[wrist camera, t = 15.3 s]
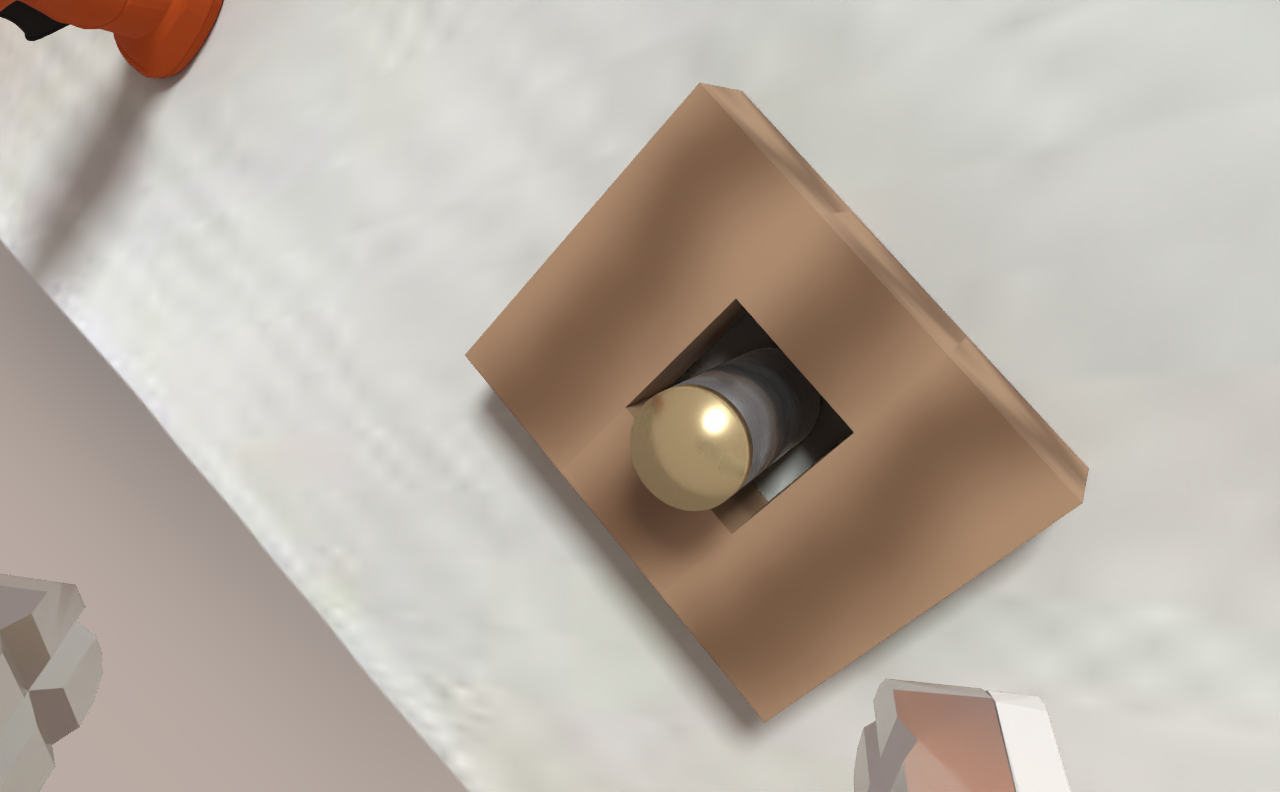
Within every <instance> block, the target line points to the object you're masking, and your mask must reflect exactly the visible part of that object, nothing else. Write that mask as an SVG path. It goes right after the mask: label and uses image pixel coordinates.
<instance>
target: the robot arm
mask: <svg viewBox="0 0 1280 792" xmlns="http://www.w3.org/2000/svg"><path fill="white" fill-rule="evenodd" d="M85 607H86V606H85V604H84V602H83V600H82V597H81V595H80V593H79V591H78V588H77V586H76V585H74V584H67V583H60V582H54V581H47V580H40V579H33V578H26V577H19V576H12V575H5V574H0V792H40V790H41V789H42V787H43V785H44V784H45V782H46V780H47V779H48V777H49V776H50V774H51V772H52V771H53V769H54V767H55V763H54V755H53V748H52V744H54V743H56V742H57V741H59V740H60V739H62V738H63V737H65V736H66V735H68V734H69V733H71V732H73V731H74V730H75V729H77V728H78V727H80V725H81V723H82V722H83V720H84V718H85V716H86V715H87V713H88V711H89V710H90V708H91V706H92V704H93V703H94V700H95V697H96V693H97V690H98V687H99V683H100V680H101V676H102V651H101V648H100V645H99V642H98V639H97V636H96V635H94V634H93V633H92V632H91V631H90V630H88V629H87V628H86V627H85V626H83V625H82V624H81V623H80V622H79V621H77V619H78V618H79V616H80V615H81V613H82V611H83V610H84V609H85ZM874 709H875V717H876V721H875V722H873V723H871V724H870V725H868V726H866V727H864V729H863V732H862V735H861V738H860V741H859V745H858V748H857V754H856V762H855V770H854V792H1071V789H1070V785H1069V782H1068V779H1067V775H1066V772H1065V768H1064V765H1063V762H1062V758H1061V755H1060V752H1059V748H1058V745H1057V742H1056V738H1055V735H1054V731H1053V728H1052V725H1051V721H1050V718H1049V715H1048V711H1047V708H1046V706H1045V705H1044V703H1043V702H1042V701H1041V699H1040V698H1039V697H1037V696H1031V695H1022V694H1013V693H1004V692H995V691H984V690H983V689H980V688H971V687H961V686H951V685H942V684H932V683H923V682H913V681H903V680H894V679H885V680H884V681H883V682H882V683H881V684H880V685H879V688H878V690H877V693H876V696H875V698H874Z"/></svg>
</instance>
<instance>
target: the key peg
mask: <svg viewBox="0 0 1280 792" xmlns="http://www.w3.org/2000/svg"><path fill="white" fill-rule="evenodd" d="M819 412H820V393H819V392H818V391H817V390H816V389H815V388H814V386H813V385H812V384H811V383H810V382H809V381H808V380H807V378H806V377H805V376H804V375H803V374H802V373H801V372H800V370H799V369H798V368H797V367H796V366H795V365H794V364H793V362H792V361H791V360H790V359H789V358H788V357H787V356H786V355H785V353H784V352H783V351H782V350H781V349H777V348H758V349H754V350H751V351H749V352H746V353H744V354H742V355H740V356H738V357H736V358H733V359H731V360H729V361H727V362H725V363H723V364H720V365H718V366H716V367H714V368H712V369H710V370H708V371H705V372H703V373H701V374H699V375H697V376H695V377H692V378H690V379H688V380H686V381H684V382H682V383H679V384H677V385H675V386H673V387H671V388H669V389H667V390H664V391H662V392H660V393H658V394H656V395H655V396H653V397H651V398H650V399H649V400H648V401H647V402H646V403H645V404H644V405H643V406H642V407H641V409H640V410H639V412H638V413H637V415H636V417H635V419H634V422H633V425H632V428H631V433H630V452H631V458H632V461H633V464H634V467H635V470H636V472H637V474H638V476H639V477H640V479H641V481H642V482H643V484H644V485H645V486H646V488H647V489H648V490H649V491H650V492H651V493H652V494H653V495H654V496H656V497H657V498H658V499H660V500H661V501H663V502H664V503H666V504H668V505H670V506H672V507H675V508H677V509H681V510H686V511H703V510H708V509H711V508H714V507H716V506H718V505H720V504H722V503H723V502H725V501H726V500H727V499H729V498H730V497H731V496H732V495H734V494H735V493H736V492H737V491H739V490H740V489H741V488H743V487H744V486H745V485H746V484H748V483H749V482H750V481H751V480H753V479H754V478H755V477H756V476H758V475H759V474H760V473H761V472H763V471H764V470H765V469H766V468H768V467H769V466H770V465H772V464H773V463H774V462H775V461H777V460H778V459H779V458H780V457H782V456H783V455H784V454H785V453H787V452H788V451H789V450H790V449H792V448H793V447H794V446H795V445H797V444H798V443H799V442H801V441H802V440H803V439H804V438H805V437H806V436H807V435H808V434H809V433H810V432H811V430H812V429H813V427H814V426H815V424H816V422H817V419H818V416H819Z"/></svg>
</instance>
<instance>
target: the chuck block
mask: <svg viewBox="0 0 1280 792" xmlns="http://www.w3.org/2000/svg"><path fill="white" fill-rule="evenodd" d="M747 312H749V314H750V315H751V316H752V317H753V318H754V319H755V320H756V322H757V323H758V324H759V325H760V326H761V327H762V328H763V330H764V331H765V332H766V333H767V334H768V335H769V336H770V337H771V339H772V340H773V341H774V342H775V343H776V344H777V345H778V347H779V348H780V349H781V350H782V351H783V352H784V353H785V355H786V356H787V357H788V358H789V359H790V360H791V361H792V362H793V364H794V365H795V366H796V367H797V368H798V369H799V370H800V372H801V373H802V374H803V375H804V376H805V377H806V378H807V380H808V381H809V382H810V383H811V384H812V385H813V386H814V388H815V389H816V390H817V391H818V392H819V393H820V394H821V395H822V397H823V398H824V399H825V400H826V401H827V402H828V403H829V405H830V406H831V407H832V408H833V409H834V410H835V411H836V413H837V414H838V415H839V416H840V417H841V418H842V419H843V420H844V422H845V423H846V424H847V425H848V426H849V427H850V428H851V430H852V431H853V432H852V433H851V434H849V435H848V436H847V437H846V438H845V439H843V440H842V441H841V442H840V443H839V444H837V445H836V446H835V447H834V448H833V449H831V450H830V451H829V452H828V453H827V454H825V455H824V456H823V457H822V458H821V459H819V460H818V461H817V462H816V463H815V464H813V465H812V466H811V467H810V468H809V469H807V470H806V471H805V472H804V473H803V474H801V475H800V476H799V477H798V478H797V479H795V480H794V481H793V482H792V483H791V484H789V485H788V486H787V487H786V488H785V489H783V490H782V491H781V492H780V493H779V494H777V495H776V496H775V497H774V498H773V499H771V500H770V501H769V502H768V501H767V500H766V499H765V498H764V497H763V495H762V494H761V493H760V492H759V491H758V490H757V488H756V487H755V486H754V485H753V484H752V482H751V481H750V482H749V483H748V484H746V485H745V486H744V487H743V488H741V489H740V490H739V491H737V492H736V493H735V494H734V495H732V496H731V497H730V498H729V499H727V500H726V501H725V502H723V503H722V504H720V505H718V506H716V507H714V508H711V509H708V510H703V511H686V510H681V509H677V508H675V507H672V506H670V505H668V504H666V503H664V502H663V501H661V500H660V499H658V498H657V497H656V496H654V495H653V494H652V493H651V492H650V491H649V490H648V489H647V488H646V486H645V485H644V484H643V482H642V481H641V479H640V477H639V476H638V474H637V472H636V470H635V467H634V464H633V461H632V458H631V452H630V433H631V428H632V425H633V422H634V419H635V417H636V415H637V413H638V412H639V410H640V409H641V407H642V406H643V405H644V404H645V403H646V402H647V401H648V400H649V399H650V398H651V397H653V396H655V395H656V394H658V393H660V392H662V391H664V390H667V389H669V388H671V386H672V385H673V384H674V383H675V382H676V381H677V380H678V379H679V378H680V377H681V376H682V375H683V374H684V373H685V372H686V371H687V370H688V369H689V368H690V367H691V366H692V365H693V364H694V363H695V362H696V361H697V360H698V359H699V358H700V357H702V356H703V355H704V354H705V353H706V352H707V351H708V350H709V349H710V348H711V347H712V346H713V345H714V344H715V343H716V342H717V341H718V340H719V339H720V338H721V337H722V336H723V335H724V334H725V333H726V332H727V331H728V330H729V329H730V328H731V327H732V326H733V325H734V324H736V323H737V322H738V321H739V320H740V319H741V318H742V317H743V316H744V315H745V314H746V313H747ZM465 356H466V357H467V358H468V360H469V361H470V362H471V363H472V364H473V366H474V367H475V368H476V369H477V371H478V372H479V373H480V374H481V375H482V377H483V378H484V379H485V380H486V382H487V383H488V384H489V385H490V386H491V388H492V389H493V390H494V391H495V393H496V394H497V395H498V396H499V397H500V399H501V400H502V401H503V402H504V404H505V405H506V406H507V407H508V409H509V410H510V411H511V412H512V413H513V415H514V416H515V417H516V418H517V420H518V421H519V422H520V423H521V424H522V426H523V427H524V428H525V429H526V431H527V432H528V433H529V434H530V435H531V437H532V438H533V439H534V440H535V442H536V443H537V444H538V445H539V446H540V448H541V449H542V450H543V451H544V453H545V454H546V455H547V456H548V458H549V459H550V460H551V461H552V462H553V464H554V465H555V466H556V467H557V469H558V470H559V471H560V472H561V473H562V475H563V476H564V477H565V478H566V480H567V481H568V482H569V483H570V484H571V486H572V487H573V488H574V489H575V491H576V492H577V493H578V494H579V496H580V497H581V498H582V499H583V500H584V502H585V503H586V504H587V505H588V507H589V508H590V509H591V510H592V511H593V513H594V514H595V515H596V516H597V518H598V519H599V520H600V521H601V522H602V524H603V525H604V526H605V527H606V529H607V530H608V531H609V532H610V533H611V535H612V536H613V537H614V538H615V540H616V541H617V542H618V543H619V545H620V546H621V547H622V548H623V549H624V551H625V552H626V553H627V554H628V556H629V557H630V558H631V559H632V560H633V562H634V563H635V564H636V565H637V567H638V568H639V569H640V570H641V571H642V573H643V574H644V575H645V576H646V578H647V579H648V580H649V581H650V582H651V584H652V585H653V586H654V587H655V589H656V590H657V591H658V592H659V594H660V595H661V596H662V597H663V598H664V600H665V601H666V602H667V603H668V605H669V606H670V607H671V608H672V609H673V611H674V612H675V613H676V614H677V616H678V617H679V618H680V619H681V620H682V622H683V623H684V624H685V625H686V627H687V628H688V629H689V630H690V631H691V633H692V634H693V635H694V636H695V638H696V639H697V640H698V641H699V643H700V644H701V645H702V646H703V647H704V649H705V650H706V651H707V652H708V654H709V655H710V656H711V657H712V658H713V660H714V661H715V662H716V663H717V665H718V666H719V667H720V668H721V669H722V671H723V672H724V673H725V674H726V676H727V677H728V678H729V679H730V680H731V682H732V683H733V684H734V685H735V687H736V688H737V689H738V690H739V692H740V693H741V694H742V695H743V696H744V698H745V699H746V700H747V701H748V703H749V704H750V705H751V706H752V707H753V709H754V710H755V711H756V712H757V714H758V715H759V716H760V717H761V718H762V720H763V721H764V722H766V721H767V720H769V719H770V718H772V717H773V716H774V715H776V714H777V713H779V712H780V711H782V710H783V709H785V708H786V707H787V706H789V705H790V704H792V703H793V702H795V701H796V700H798V699H799V698H801V697H802V696H803V695H805V694H806V693H808V692H809V691H811V690H812V689H814V688H815V687H816V686H818V685H819V684H821V683H822V682H824V681H825V680H827V679H828V678H830V677H831V676H832V675H834V674H835V673H837V672H838V671H840V670H841V669H843V668H844V667H845V666H847V665H848V664H850V663H851V662H853V661H854V660H856V659H857V658H859V657H860V656H861V655H863V654H864V653H866V652H867V651H869V650H870V649H872V648H873V647H874V646H876V645H877V644H879V643H880V642H882V641H883V640H885V639H886V638H888V637H889V636H890V635H892V634H893V633H895V632H896V631H898V630H899V629H901V628H902V627H903V626H905V625H906V624H908V623H909V622H911V621H912V620H914V619H915V618H917V617H918V616H919V615H921V614H922V613H924V612H925V611H927V610H928V609H930V608H931V607H932V606H934V605H935V604H937V603H938V602H940V601H941V600H943V599H944V598H945V597H947V596H948V595H950V594H951V593H953V592H954V591H956V590H957V589H959V588H960V587H961V586H963V585H964V584H966V583H967V582H969V581H970V580H972V579H973V578H974V577H976V576H977V575H979V574H980V573H982V572H983V571H985V570H986V569H988V568H989V567H990V566H992V565H993V564H995V563H996V562H998V561H999V560H1001V559H1002V558H1003V557H1005V556H1006V555H1008V554H1009V553H1011V552H1012V551H1014V550H1015V549H1017V548H1018V547H1019V546H1021V545H1022V544H1024V543H1025V542H1027V541H1028V540H1030V539H1031V538H1032V537H1034V536H1035V535H1037V534H1038V533H1040V532H1041V531H1043V530H1044V529H1046V528H1047V527H1048V526H1050V525H1051V524H1053V523H1054V522H1056V521H1057V520H1059V519H1060V518H1061V517H1063V516H1064V515H1066V514H1067V513H1069V512H1070V511H1072V510H1073V509H1075V508H1076V507H1077V506H1079V505H1080V504H1082V503H1083V498H1084V492H1085V486H1086V481H1087V475H1088V470H1089V468H1088V467H1087V466H1086V465H1085V464H1084V463H1083V462H1082V461H1081V460H1080V459H1079V458H1078V457H1077V455H1076V454H1075V453H1074V452H1073V451H1072V450H1071V449H1070V448H1069V447H1068V446H1067V445H1066V443H1065V442H1064V441H1063V440H1062V439H1061V438H1060V437H1059V436H1058V435H1057V434H1056V433H1055V431H1054V430H1053V429H1052V428H1051V427H1050V426H1049V425H1048V424H1047V423H1046V422H1045V421H1044V419H1043V418H1042V417H1041V416H1040V415H1039V414H1038V413H1037V412H1036V411H1035V410H1034V409H1033V408H1032V406H1031V405H1030V404H1029V403H1028V402H1027V401H1026V400H1025V399H1024V398H1023V397H1022V396H1021V394H1020V393H1019V392H1018V391H1017V390H1016V389H1015V388H1014V387H1013V386H1012V385H1011V384H1010V382H1009V381H1008V380H1007V379H1006V378H1005V377H1004V376H1003V375H1002V374H1001V373H1000V372H999V370H998V369H997V368H996V367H995V366H994V365H993V364H992V363H991V362H990V361H989V360H988V359H987V357H986V356H985V355H984V354H983V353H982V352H981V351H980V350H979V349H978V348H977V347H976V345H975V344H974V343H973V342H972V341H971V340H970V339H969V338H968V337H967V336H966V335H965V333H964V332H963V331H962V330H961V329H960V328H959V327H958V326H957V325H956V324H955V323H954V321H953V320H952V319H951V318H950V317H949V316H948V315H947V314H946V313H945V312H944V311H943V309H942V308H941V307H940V306H939V305H938V304H937V303H936V302H935V301H934V300H933V299H932V298H931V296H930V295H929V294H928V293H927V292H926V291H925V290H924V289H923V288H922V287H921V286H920V284H919V283H918V282H917V281H916V280H915V279H914V278H913V277H912V276H911V275H910V274H909V272H908V271H907V270H906V269H905V268H904V267H903V266H902V265H901V264H900V263H899V262H898V260H897V259H896V258H895V257H894V256H893V255H892V254H891V253H890V252H889V251H888V250H887V249H886V247H885V246H884V245H883V244H882V243H881V242H880V241H879V240H878V239H877V238H876V237H875V235H874V234H873V233H872V232H871V231H870V230H869V229H868V228H867V227H866V226H865V225H864V223H863V222H862V221H861V220H860V219H859V218H858V217H857V216H856V215H855V214H854V213H853V211H852V210H851V209H850V208H849V207H848V206H847V205H846V204H845V203H844V202H843V201H842V200H841V198H840V197H839V196H838V195H837V194H836V193H835V192H834V191H833V190H832V189H831V188H830V186H829V185H828V184H827V183H826V182H825V181H824V180H823V179H822V178H821V177H820V176H819V174H818V173H817V172H816V171H815V170H814V169H813V168H812V167H811V166H810V165H809V164H808V162H807V161H806V160H805V159H804V158H803V157H802V156H801V155H800V154H799V153H798V152H797V151H796V149H795V148H794V147H793V146H792V145H791V144H790V143H789V142H788V141H787V140H786V139H785V137H784V136H783V135H782V134H781V133H780V132H779V131H778V130H777V129H776V128H775V127H774V125H773V124H772V123H771V122H770V121H769V120H768V119H767V118H766V117H765V116H764V115H763V113H762V112H761V111H760V110H759V109H758V108H757V107H756V106H755V105H754V104H753V103H752V102H751V100H750V99H749V98H748V97H747V96H746V95H745V94H744V93H743V92H742V91H739V90H734V89H729V88H724V87H719V86H714V85H709V84H703V83H699V84H698V85H697V86H696V88H695V89H694V90H693V91H692V92H691V93H690V95H689V96H688V97H687V98H686V99H685V100H684V101H683V103H682V104H681V105H680V106H679V107H678V108H677V110H676V111H675V112H674V113H673V114H672V115H671V117H670V118H669V119H668V120H667V121H666V122H665V124H664V125H663V126H662V127H661V128H660V129H659V130H658V132H657V133H656V134H655V135H654V136H653V137H652V139H651V140H650V141H649V142H648V143H647V144H646V146H645V147H644V148H643V149H642V150H641V151H640V153H639V154H638V155H637V156H636V157H635V158H634V159H633V161H632V162H631V163H630V164H629V165H628V166H627V168H626V169H625V170H624V171H623V172H622V173H621V175H620V176H619V177H618V178H617V179H616V180H615V182H614V183H613V184H612V185H611V186H610V187H609V188H608V190H607V191H606V192H605V193H604V194H603V195H602V197H601V198H600V199H599V200H598V201H597V202H596V204H595V205H594V206H593V207H592V208H591V209H590V211H589V212H588V213H587V214H586V215H585V216H584V217H583V219H582V220H581V221H580V222H579V223H578V224H577V226H576V227H575V228H574V229H573V230H572V231H571V233H570V234H569V235H568V236H567V237H566V238H565V240H564V241H563V242H562V243H561V244H560V245H559V246H558V248H557V249H556V250H555V251H554V252H553V253H552V255H551V256H550V257H549V258H548V259H547V260H546V262H545V263H544V264H543V265H542V266H541V267H540V269H539V270H538V271H537V272H536V273H535V274H534V275H533V277H532V278H531V279H530V280H529V281H528V282H527V284H526V285H525V286H524V287H523V288H522V289H521V291H520V292H519V293H518V294H517V295H516V296H515V298H514V299H513V300H512V301H511V302H510V303H509V304H508V306H507V307H506V308H505V309H504V310H503V311H502V313H501V314H500V315H499V316H498V317H497V318H496V320H495V321H494V322H493V323H492V324H491V325H490V327H489V328H488V329H487V330H486V331H485V332H484V333H483V335H482V336H481V337H480V338H479V339H478V340H477V342H476V343H475V344H474V345H473V346H472V347H471V349H470V350H469V351H468V352H467V353H466V354H465Z"/></svg>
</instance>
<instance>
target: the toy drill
mask: <svg viewBox="0 0 1280 792" xmlns="http://www.w3.org/2000/svg"><path fill="white" fill-rule="evenodd" d="M222 1H223V0H0V17H2V18H5V19H7V20H9V21H11V22H13V23H14V24H16V25H17V26H18V27H19V28H20V29H21V30H22V31H23V32H24V33H25V38H26V39H27V40H28V41H35V40H38V39H41V38H43V37H45V36H47V35H50V34H52V33H54V32H56V31H58V30H60V29H62V28H64V27H66V26H68V25H70V24H71V25H74V26H76V27H79V28H83V29H103V30H106V31H110V32H113V33H114V38H115V41H116V44H117V46H118V48H119V50H120V52H121V54H122V55H123V57H124V58H125V59H126V60H127V61H128V63H129V64H130V65H131V66H133V67H134V68H135V69H136V70H137V71H138V72H139V73H141V74H142V75H144V76H146V77H151V78H166V77H170V76H173V75H175V74H177V73H179V72H180V71H181V70H182V69H184V68H185V67H186V66H187V65H188V63H189V62H190V61H191V60H192V58H193V57H194V56H195V54H196V53H197V52H198V50H199V49H200V48H201V46H202V45H203V43H204V41H205V39H206V38H207V36H208V34H209V32H210V30H211V28H212V26H213V24H214V23H215V21H216V18H217V16H218V13H219V10H220V8H221V5H222Z"/></svg>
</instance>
